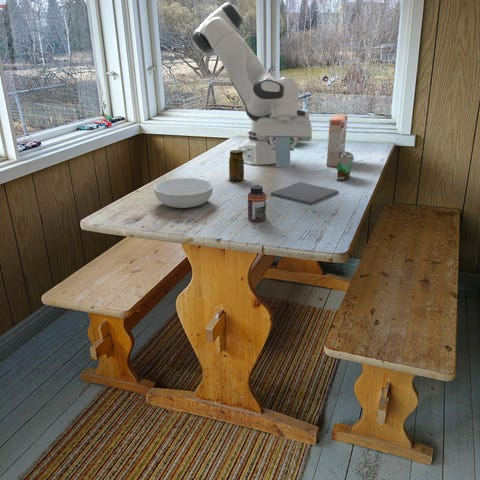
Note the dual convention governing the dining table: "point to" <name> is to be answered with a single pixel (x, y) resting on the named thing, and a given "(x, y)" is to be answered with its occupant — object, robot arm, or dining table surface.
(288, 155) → the slate-blue block
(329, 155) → the cracker box
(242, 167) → the condiment
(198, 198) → the serving bowl
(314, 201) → the rubber mat
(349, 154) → the food container
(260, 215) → the supplement bottle
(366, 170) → the dining table surface
